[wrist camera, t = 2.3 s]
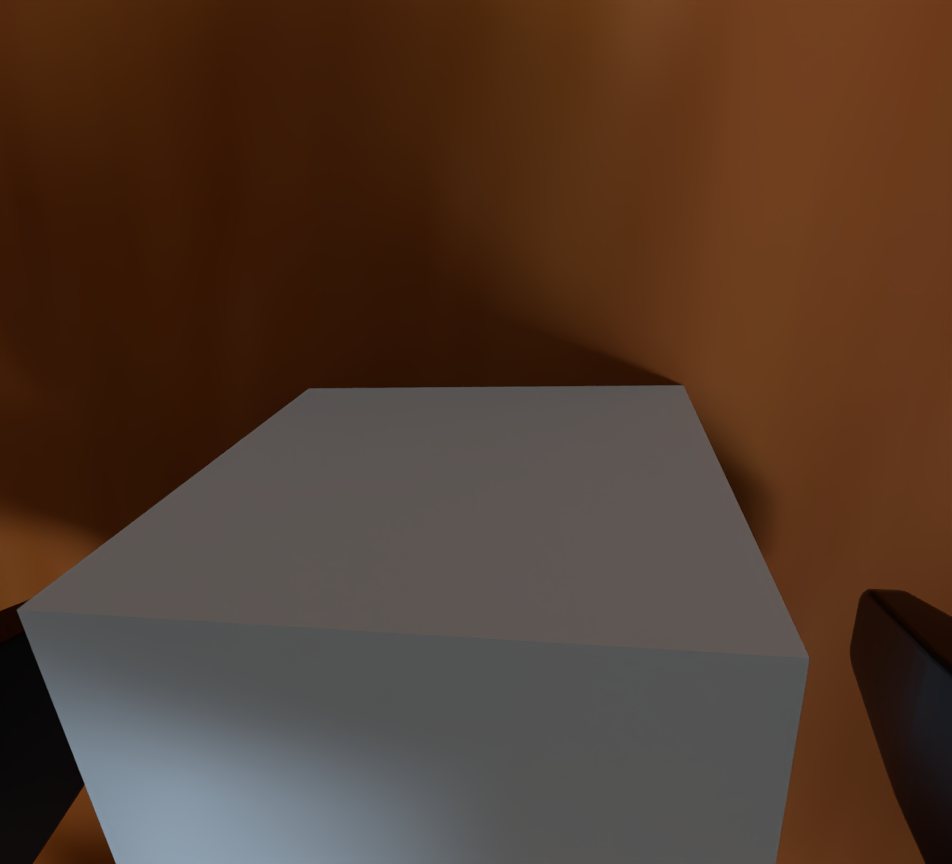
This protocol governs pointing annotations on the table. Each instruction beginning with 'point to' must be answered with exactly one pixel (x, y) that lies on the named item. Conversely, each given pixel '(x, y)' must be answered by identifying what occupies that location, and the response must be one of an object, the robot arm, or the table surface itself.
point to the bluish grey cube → (435, 642)
